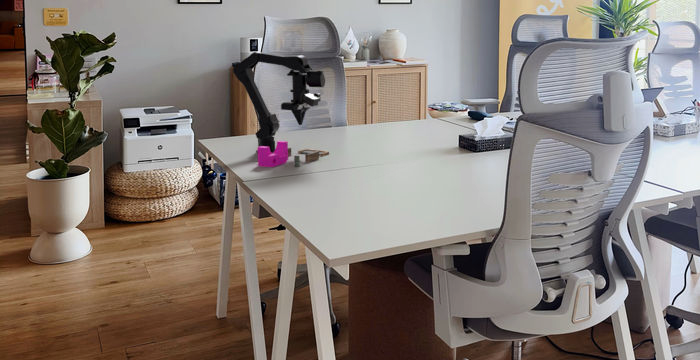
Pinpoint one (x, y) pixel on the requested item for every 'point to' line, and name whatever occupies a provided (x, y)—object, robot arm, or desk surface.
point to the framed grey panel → (307, 155)
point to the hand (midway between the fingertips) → (300, 124)
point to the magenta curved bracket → (273, 155)
